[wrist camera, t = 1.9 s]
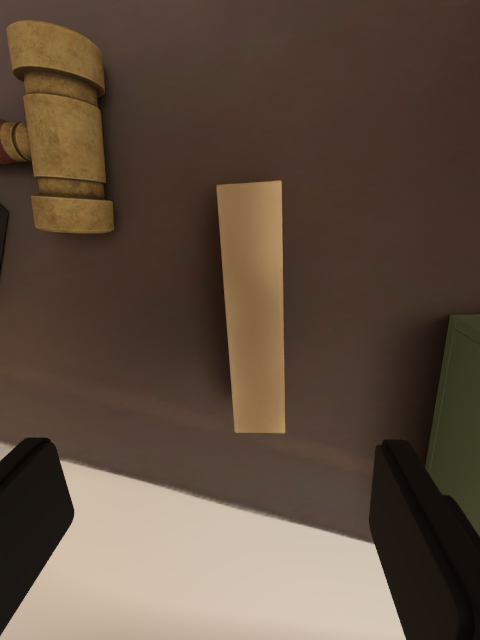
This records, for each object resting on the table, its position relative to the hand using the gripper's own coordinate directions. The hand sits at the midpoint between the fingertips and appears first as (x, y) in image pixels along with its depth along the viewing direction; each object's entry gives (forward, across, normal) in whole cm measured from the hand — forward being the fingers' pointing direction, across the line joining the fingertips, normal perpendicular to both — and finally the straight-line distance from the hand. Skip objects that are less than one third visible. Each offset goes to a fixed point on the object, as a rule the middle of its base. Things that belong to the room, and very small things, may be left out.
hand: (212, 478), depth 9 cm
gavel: (+16, +18, -13) cm, 27 cm away
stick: (+16, -1, -1) cm, 16 cm away
